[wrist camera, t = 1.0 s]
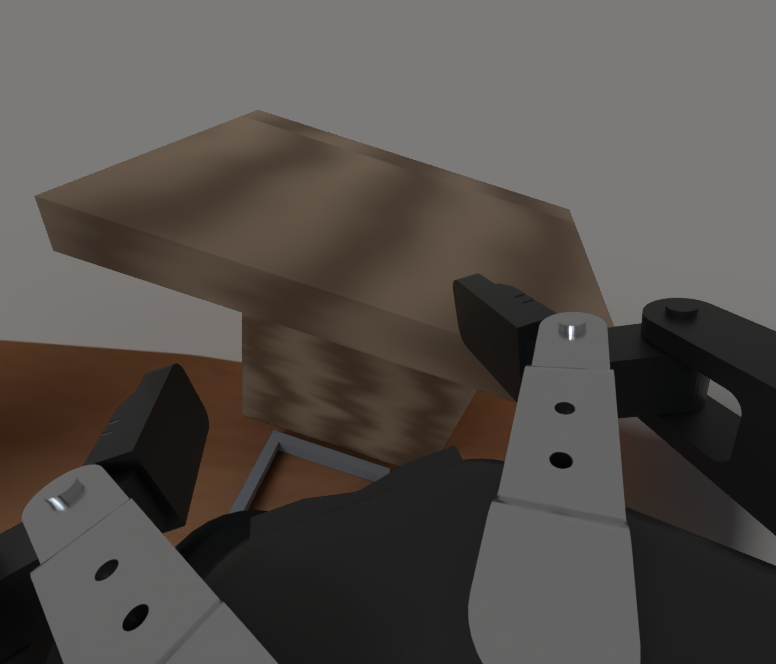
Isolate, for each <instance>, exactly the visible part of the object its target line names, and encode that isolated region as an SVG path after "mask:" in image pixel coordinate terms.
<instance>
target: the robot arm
mask: <svg viewBox="0 0 776 664" xmlns="http://www.w3.org/2000/svg"><path fill="white" fill-rule="evenodd" d="M453 294H454V301H455V308H456V315H457V321H458V328H459V332H460V335H461V338H462V340H463V342H464V344H465V346H466V347H467V348H468V349H469V350H470V351H471V353H472V354H473V355H474V356H475V357H476V358H477V359H478V360H479V361H480V362H481V364H482V365H483V366H484V367H485V368H486V369H487V370H488V371H489V372H490V374H491V375H492V376H493V377H494V378H495V379H496V380H497V381H498V382H499V383H500V385H501V386H502V387H503V388H504V389H505V390H506V391H507V392H508V393H509V395H510V396H511V397H512V398H513V399H514V400H515V401H516V402H517V407H516V411H515V416H514V421H513V426H512V430H511V435H510V440H509V444H508V449H507V454H506V458H505V461H500V460H493V459H467V460H463V459H462V458H461V456H460V454H459V452H458V451H457V449H456V447H455V446H452V447H449V448H447V449H444V450H441V451H438V452H435V453H432V454H430V455H427V456H424V457H421V458H418V459H415V460H413V461H410V462H407V463H405V464H404V465H402V466H400V467H399V468H397V469H395V470H394V471H392V472H390V473H389V474H387V475H385V476H384V477H382V478H380V479H379V480H377V481H375V482H374V483H372V484H370V485H369V486H367V487H365V488H364V489H362V490H360V491H357V492H352V493H344V494H337V495H330V496H322V497H315V498H307V499H302V500H299V501H296V502H294V503H291V504H288V505H285V506H282V507H279V508H277V509H274V510H271V511H268V512H265V513H262V514H260V515H257V516H254V517H251V525H250V537H248V538H247V539H245V540H243V541H242V542H240V543H239V544H238V545H236V546H235V547H233V548H232V549H231V550H230V551H228V552H227V553H226V554H225V555H224V556H222V557H221V558H220V559H219V560H218V561H217V562H216V563H215V564H214V565H213V566H212V567H211V568H210V569H209V570H208V571H207V572H206V573H205V574H204V575H203V577H202V578H201V577H200V576H199V575H198V574H197V573H196V572H195V571H194V569H193V568H192V567H191V566H190V565H189V564H188V563H187V561H186V560H185V559H184V558H183V557H182V556H181V554H180V553H179V552H178V551H177V550H176V549H175V548H174V546H173V545H172V544H171V543H170V542H169V541H168V540H167V538H166V537H165V536H164V535H163V533H165V532H168V531H171V530H174V529H177V528H179V527H182V526H185V524H186V520H187V516H188V512H189V508H190V503H191V499H192V495H193V491H194V487H195V483H196V479H197V475H198V471H199V467H200V462H201V458H202V454H203V450H204V446H205V442H206V438H207V434H208V430H209V420H208V416H207V412H206V410H205V407H204V405H203V404H202V402H201V400H200V398H199V396H198V395H197V393H196V391H195V389H194V387H193V385H192V384H191V382H190V380H189V378H188V376H187V374H186V373H185V371H184V369H183V368H182V367H181V366H180V365H179V364H172V365H169V366H166V367H162V368H159V369H156V370H152V371H149V372H147V373H146V374H145V376H144V378H143V379H142V381H141V383H140V385H139V386H138V388H137V390H136V392H135V393H134V395H132V396H130V397H129V398H128V399H127V400H126V401H125V402H124V403H123V404H122V405H121V406H120V407H119V408H118V409H117V410H116V412H115V413H114V415H113V417H112V418H111V420H110V422H109V423H110V424H109V425H107V427H106V428H105V430H104V432H103V433H102V434H103V436H100V438H99V440H98V441H97V443H96V445H95V446H94V448H93V450H92V451H91V453H90V455H89V456H88V458H87V460H86V461H85V463H84V465H83V466H82V467H79V468H76V469H74V470H71V471H69V472H67V473H65V474H63V475H61V476H60V477H58V478H56V479H55V480H53V481H52V482H50V483H49V484H48V485H46V486H45V487H44V488H43V489H41V490H40V491H39V492H38V493H37V494H36V495H35V496H34V497H33V498H32V499H31V500H30V502H29V503H28V504H27V506H26V507H25V509H24V511H23V513H22V521H23V522H22V523H20V524H18V525H16V526H14V527H12V528H10V529H8V530H6V531H5V532H3V533H1V534H0V664H45V663H46V661H47V658H48V656H49V653H50V651H51V648H52V646H53V643H54V641H55V642H56V645H57V647H58V650H59V653H60V655H61V658H62V660H63V663H64V664H776V566H775V565H772V564H770V563H767V562H765V561H762V560H760V559H757V558H754V557H752V556H750V555H747V554H745V553H742V552H739V551H737V550H734V549H732V548H729V547H727V546H724V545H721V544H719V543H716V542H714V541H712V540H709V539H706V538H704V537H701V536H699V535H696V534H693V533H691V532H688V531H686V530H684V529H681V528H678V527H676V526H673V525H671V524H668V523H666V522H663V521H661V520H658V519H656V518H653V517H651V516H648V515H646V514H643V513H640V512H638V511H635V510H633V509H630V508H628V507H625V503H624V489H623V477H622V465H621V452H620V440H619V427H618V418H627V417H638V418H639V419H640V420H641V421H642V422H644V423H645V424H646V425H647V426H649V428H651V429H652V430H653V431H654V432H655V433H656V434H658V435H659V436H660V437H661V438H662V439H663V440H665V441H666V442H667V443H668V444H669V445H670V446H672V447H673V448H674V449H675V450H676V451H677V452H679V453H680V454H681V455H682V456H683V457H684V458H686V459H687V460H688V461H689V462H690V463H692V464H693V465H694V466H695V467H696V468H697V469H698V470H700V471H701V472H702V473H703V474H704V475H705V476H707V477H708V478H709V479H710V480H711V481H712V482H714V483H715V484H716V485H717V486H718V487H719V488H721V489H722V490H723V491H724V492H725V493H726V494H728V495H729V496H730V497H731V498H732V499H733V500H735V501H736V502H737V503H738V504H739V505H740V506H742V507H743V508H744V509H745V510H746V511H748V512H749V513H750V514H751V515H752V516H753V517H754V518H756V519H757V520H758V521H759V522H760V523H762V524H763V525H764V526H765V527H766V528H767V529H769V530H770V531H771V532H772V533H773V534H774V535H775V536H776V331H774V330H771V329H769V328H767V327H764V326H762V325H759V324H757V323H755V322H752V321H750V320H748V319H745V318H743V317H740V316H738V315H735V314H733V313H731V312H729V311H726V310H724V309H721V308H719V307H716V306H714V305H712V304H709V303H707V302H704V301H700V300H695V299H687V298H668V299H661V300H656V301H654V302H651V303H649V304H647V305H646V306H645V307H644V308H643V313H642V323H641V324H633V325H625V326H618V327H607V324H606V323H605V321H604V320H602V319H601V318H599V317H597V316H595V315H592V314H588V313H583V312H564V313H558V314H557V313H556V312H554V311H553V310H551V309H549V308H548V307H546V306H545V305H543V304H541V303H540V302H538V301H537V300H535V301H534V299H533V298H532V297H530V296H529V295H525V293H524V292H522V291H521V290H519V289H517V288H516V287H513V286H509V285H505V284H501V283H498V284H494V283H493V282H491V281H490V280H488V279H487V278H485V277H484V276H482V275H481V274H479V273H477V274H473V275H470V276H467V277H463V278H460V279H457V280H454V281H453ZM710 379H711V380H713V381H714V382H716V383H718V384H719V385H721V386H723V387H724V388H726V389H727V390H729V391H730V392H731V393H732V394H733V395H734V396H735V397H736V399H737V400H738V402H739V404H740V406H741V410H742V416H741V417H740V416H739V415H737V414H735V413H734V412H732V411H731V410H729V409H728V408H726V407H725V406H723V405H722V404H720V403H719V402H717V401H716V400H714V399H712V398H711V397H709V396H708V395H707V391H708V386H709V382H710Z"/></svg>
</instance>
